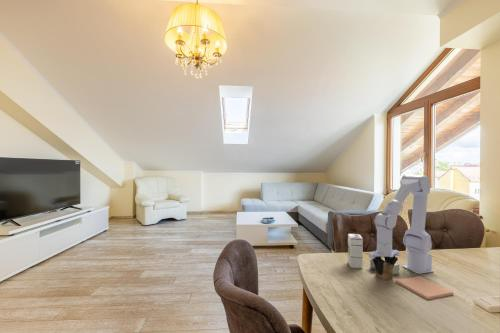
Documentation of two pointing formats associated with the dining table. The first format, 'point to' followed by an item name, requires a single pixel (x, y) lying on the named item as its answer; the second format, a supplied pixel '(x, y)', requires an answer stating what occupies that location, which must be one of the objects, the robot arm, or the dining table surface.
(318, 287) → the dining table surface
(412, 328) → the dining table surface
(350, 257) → the syrup box
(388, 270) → the walnut block
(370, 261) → the grey metal cylinder
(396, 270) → the sage painted cube
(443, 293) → the terracotta tile
